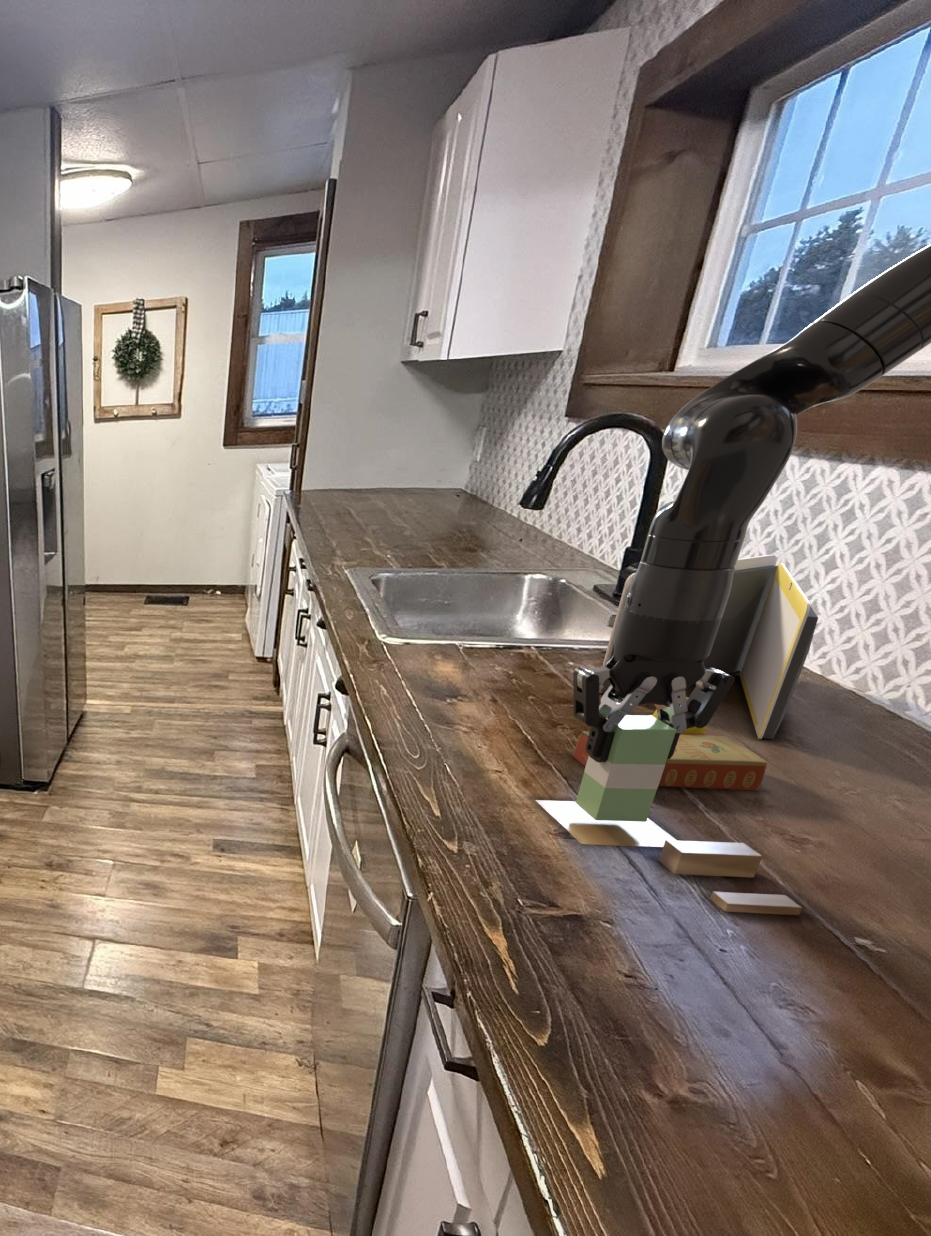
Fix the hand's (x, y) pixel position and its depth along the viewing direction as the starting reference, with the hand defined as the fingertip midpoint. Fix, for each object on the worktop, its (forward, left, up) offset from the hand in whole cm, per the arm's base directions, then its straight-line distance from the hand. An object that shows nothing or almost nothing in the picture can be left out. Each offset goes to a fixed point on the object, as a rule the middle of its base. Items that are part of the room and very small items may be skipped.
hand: (626, 759), depth 84 cm
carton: (-7, -18, -8) cm, 21 cm away
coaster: (0, 0, -8) cm, 8 cm away
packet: (0, 0, -1) cm, 1 cm away
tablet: (-14, -53, -8) cm, 56 cm away
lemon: (-9, -26, -8) cm, 29 cm away
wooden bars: (-9, +9, -8) cm, 15 cm away
